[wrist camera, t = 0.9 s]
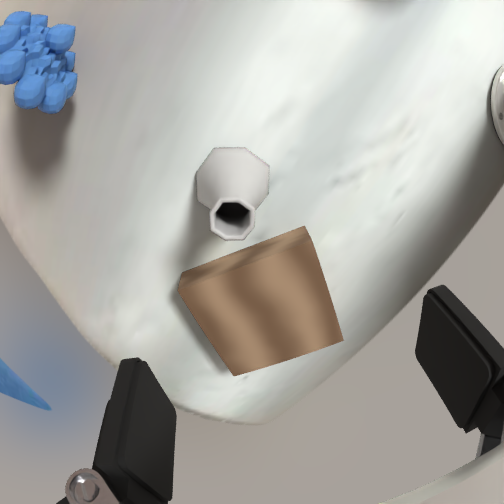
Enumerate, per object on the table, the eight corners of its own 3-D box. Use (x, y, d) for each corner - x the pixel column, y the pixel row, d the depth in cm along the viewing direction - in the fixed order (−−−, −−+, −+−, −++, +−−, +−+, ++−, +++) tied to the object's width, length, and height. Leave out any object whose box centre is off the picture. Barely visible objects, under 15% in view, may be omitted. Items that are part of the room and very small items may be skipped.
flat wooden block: (303, 224, 33) (312, 240, 30) (335, 319, 39) (343, 340, 36) (182, 270, 35) (177, 290, 31) (233, 354, 41) (233, 376, 38)
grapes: (126, 83, 25) (64, 79, 14) (72, 120, 26) (-2, 140, 15) (83, -3, 20) (18, -35, 9) (33, 36, 21) (-42, 27, 10)
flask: (255, 226, 33) (264, 278, 24) (186, 205, 31) (167, 251, 22) (281, 159, 30) (302, 187, 21) (208, 135, 28) (195, 152, 19)
